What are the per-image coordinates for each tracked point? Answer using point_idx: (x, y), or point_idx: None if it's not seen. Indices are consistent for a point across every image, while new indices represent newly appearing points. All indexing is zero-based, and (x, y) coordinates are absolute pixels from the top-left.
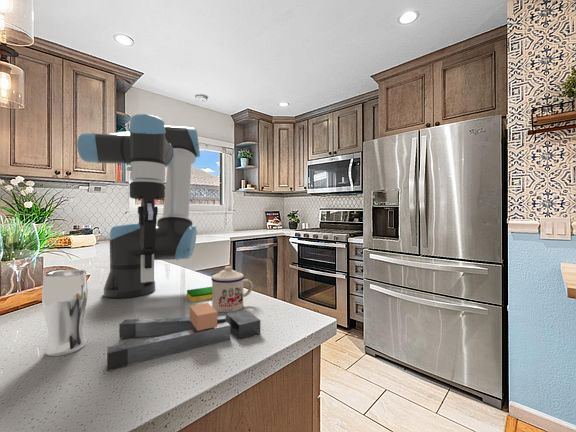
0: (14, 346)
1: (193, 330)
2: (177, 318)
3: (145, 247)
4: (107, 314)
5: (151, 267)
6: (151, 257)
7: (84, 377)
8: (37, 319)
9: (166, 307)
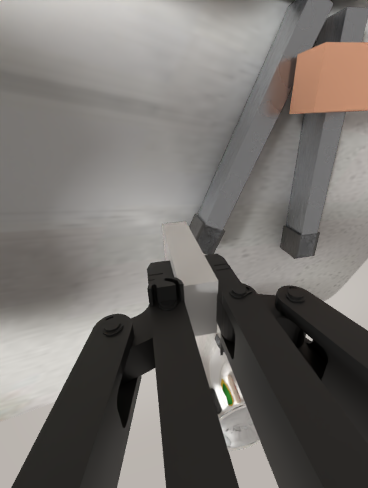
0: None
1: (331, 116)
2: (248, 140)
3: (316, 347)
4: (43, 282)
5: (217, 255)
6: (240, 282)
7: (295, 264)
8: (36, 377)
9: (21, 142)
